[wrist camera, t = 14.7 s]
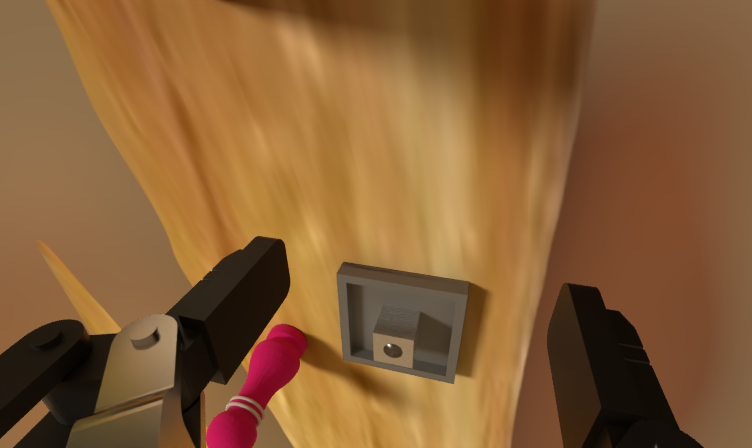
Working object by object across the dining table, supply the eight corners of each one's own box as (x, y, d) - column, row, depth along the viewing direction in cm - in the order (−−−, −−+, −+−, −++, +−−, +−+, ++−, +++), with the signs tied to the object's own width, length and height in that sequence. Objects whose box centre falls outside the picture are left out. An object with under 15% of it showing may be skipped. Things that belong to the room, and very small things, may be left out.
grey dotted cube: (383, 331, 52) (373, 360, 48) (382, 304, 49) (372, 333, 45) (418, 338, 51) (412, 368, 46) (420, 311, 48) (413, 340, 44)
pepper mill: (260, 332, 60) (173, 457, 44) (284, 314, 57) (199, 444, 40) (293, 359, 62) (221, 491, 45) (319, 344, 58) (250, 481, 42)
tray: (348, 346, 57) (343, 359, 54) (343, 261, 48) (336, 273, 46) (455, 369, 53) (453, 384, 51) (468, 281, 45) (467, 295, 43)
